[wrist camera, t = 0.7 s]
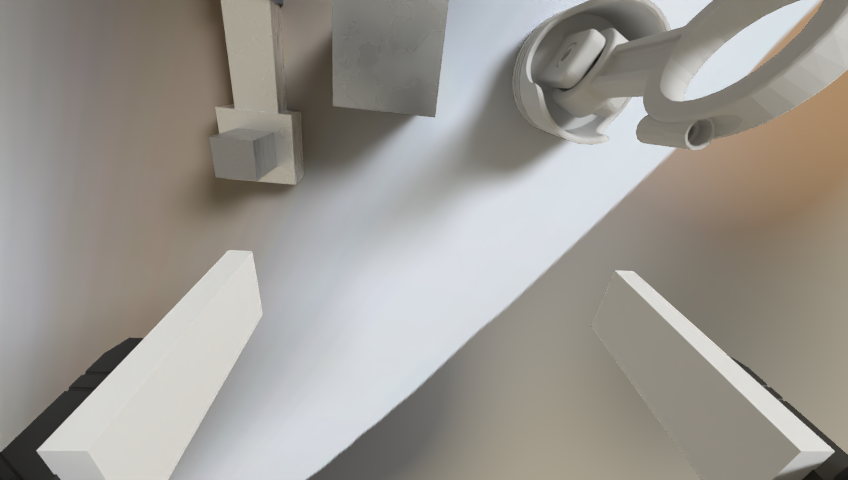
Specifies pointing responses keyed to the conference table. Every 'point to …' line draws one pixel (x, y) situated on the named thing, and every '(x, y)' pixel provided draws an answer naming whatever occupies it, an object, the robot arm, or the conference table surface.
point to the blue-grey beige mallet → (257, 100)
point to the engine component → (667, 70)
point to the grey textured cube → (388, 54)
